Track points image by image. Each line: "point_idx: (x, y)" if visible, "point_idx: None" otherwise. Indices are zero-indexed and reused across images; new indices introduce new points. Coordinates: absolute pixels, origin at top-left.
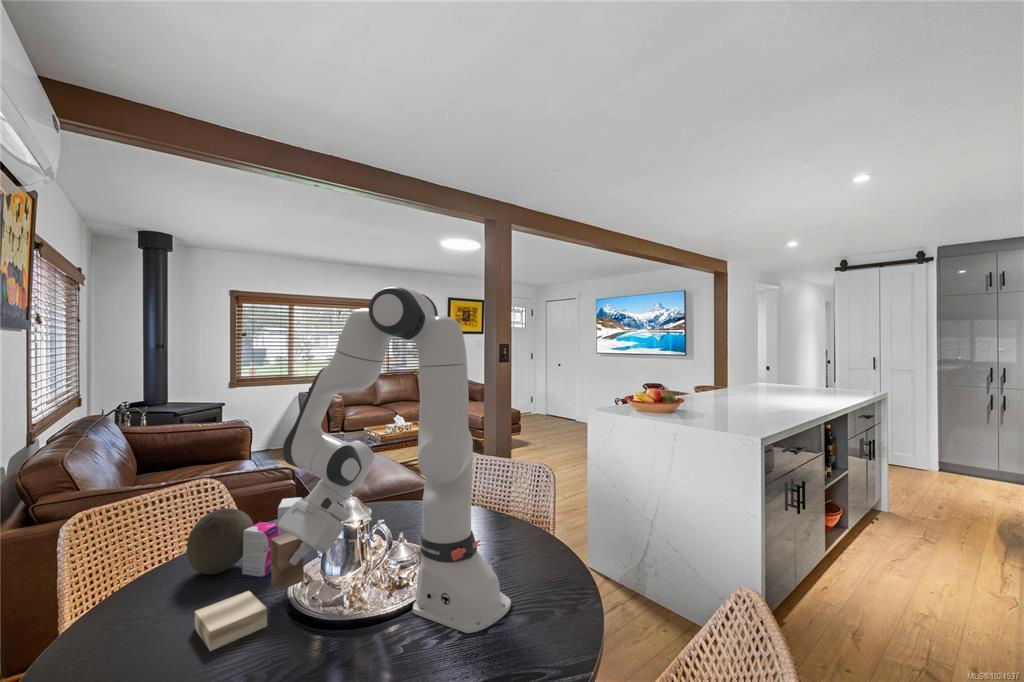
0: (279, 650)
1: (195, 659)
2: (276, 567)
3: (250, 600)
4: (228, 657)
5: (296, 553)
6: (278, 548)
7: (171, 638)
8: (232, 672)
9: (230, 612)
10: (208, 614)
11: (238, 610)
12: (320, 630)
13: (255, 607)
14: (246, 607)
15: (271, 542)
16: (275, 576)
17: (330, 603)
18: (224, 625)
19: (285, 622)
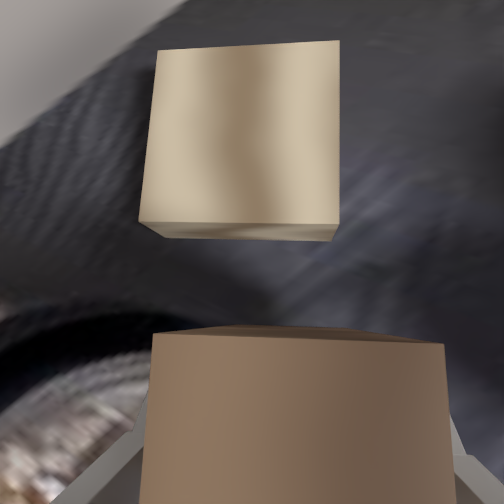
0: (29, 215)
1: None
2: (280, 328)
3: (247, 199)
4: (114, 117)
5: (115, 442)
6: (214, 332)
7: (331, 33)
8: (51, 109)
9: (222, 123)
10: (272, 67)
11: (210, 145)
12: (8, 338)
13: (180, 195)
14: (208, 172)
15: (404, 340)
16: (297, 327)
17: None
18: (156, 88)
19: (136, 285)
